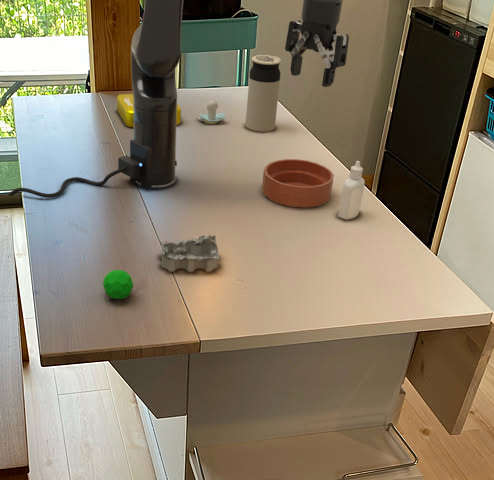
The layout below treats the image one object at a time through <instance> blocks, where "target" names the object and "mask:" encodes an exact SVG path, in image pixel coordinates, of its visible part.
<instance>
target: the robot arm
mask: <svg viewBox="0 0 494 480" xmlns="http://www.w3.org/2000/svg"><path fill="white" fill-rule="evenodd" d="M343 2H344V0H303V1H302V9H301V15H300V18H301V20H300V19H297V20H290V21H289V23H288V29H287V34H286V40H285V46H284V50H285V52H289V53H290V55H291V61H290V68H289V70H290V74H291V76H294V77H296V76H300V74H301V71H302V65H303V58H304V56H303V54H304V53H305V52H306V51H307V50H310V51H311V50H312V51H314V52H315V53H318V54H319V56H320V58H321V59H323V63H324V65H325V67H324V70H323V75H322V81H321V82H322V83H321V87H324V88H329V87H331V86H332V85H333V84H334V80H335V75H336V69H337V68H340V67H345V66H346V65H347V57H348V48H349V41H350V35H349V34H347V33H346V34H340V33H337V32H338V31H337V26H338V24H339V23H340V19H341V13H342V7H343ZM183 7H184V0H144V11H143V16H142V22H141V25H139V26H138V27H137V28H136V30H135V31H134V33H133V35H132V38H131V46H130V47H131V48H130V49H131V50H130V57H131V59H130V61H131V63H130V64H131V88H132V89H131V90H132V94H133V109H134V128H133V138H132V139H130V140H129V155H124V156H123V155H122V156H120V157H118V158H117V159H118V160H117V161H118V162H117V165H118V169H115V170H113V171H112V172H110V173H108V174H107V175H106V176H105V177H104V178H103V179H102V180H101V181H92V180H89V179H86V178H84V177H79V176H73V177H69V178H66V179H65V180H64V181H63V182H62V184H61V187H60V189H59V190H58V191H56V192H52V193H45V192H41V191H38V190H34V189H31V188H27V187H17V188H14V189H12V190H11V191H10V192H9V193H7V196H8V197H11V196H14V195H15V194H17V193H28V194H32V195H34V196H37V197H40V198H46V199H47V198H48V199H49V198H56V197H59V196H61V195H62V194H63V193H64V191H65V189H66V186H67V185H68V184H69V183H71V182H81V183H85V184H88V185H91V186H96V187H101V186H104V185H106V184H107V182H108V181H109V180H110V179H111V178H113V177H114V176H116V175H118V174H120V173H122V174H124V175H126V176H127V177H129V180H130V182H132V183H134V184H136V185H138V186H139V187H142V188H143V189H145V190H151V189H152V190H153V189H164V188H169V187H171V186H172V185H174V184H175V183H176V167H177V163H178V162H177V160H176V156H177V155H176V154H177V153H176V152H177V125H176V123H177V104H178V90H177V82H176V81H177V80H176V70H177V69H176V68H177V67H178V65H179V63H180V60H181V57H182V27H183V24H182V23H183ZM300 34H301V37H300Z"/></svg>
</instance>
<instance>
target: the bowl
mask: <svg viewBox="0 0 494 480" xmlns="http://www.w3.org/2000/svg"><path fill="white" fill-rule="evenodd" d="M334 176H335V174H334V173H333V171H332V170H331V169H329V168H328V167H327V166H326V165H323V164H320V163H319V162H315V161H311V160H307V159H300V158H299V159H298V158H296V159H295V158H284V159H277V160H274V161H271V162H269V163H267V165H265V166H264V168H263V172H262V184H261V191H262V194H263V196H265V197H266V198H267V199H269V200H271V201H272V202H274V203H276V204H280V205H284V206H287V207H294V208H312V207H318V206H321V205H324V204H326V203H327V202H328V201H329V200H330V199H331V195H332V189H333V184H334Z"/></svg>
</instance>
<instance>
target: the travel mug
mask: <svg viewBox="0 0 494 480" xmlns="http://www.w3.org/2000/svg"><path fill="white" fill-rule="evenodd" d="M251 61H252V66H251V68H250V70H249V77H248V90H247V100H246V112H245V113H246V114H245V124H244V125H245V128H247V129H249V130H251V131H253V132H259V133H265V132H266V133H267V132H270V131H274V130H275V128H276V119H277V111H278V101H279V92H280V82H281V74H282V73H281V70H280V63H281V62H282V59H281V58H280V57H278V56H274V55H269V54H268V55H267V54H257V55H254V56H251Z"/></svg>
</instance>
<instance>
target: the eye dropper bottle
mask: <svg viewBox="0 0 494 480" xmlns="http://www.w3.org/2000/svg"><path fill="white" fill-rule="evenodd" d="M363 171H364V168H363V167H362V166H361V161H359V160H356V161H355V164H354V165H352V166H351V167H350V171H349V176H348V177H347V178H346V179H345V181H344V183H343V185H342V188H341V189H342V190H341V196H340V201H339V205H338V206H339V207H338V212H337V217H338V218H340V219H343V220H352V219H354V218H356V217H358V215H359V214H360V210H361V206H362V205H361V204H362V200H363V199H362V198H363V194H364V188H365V183H366V181H365V179H364V178H363Z"/></svg>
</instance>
